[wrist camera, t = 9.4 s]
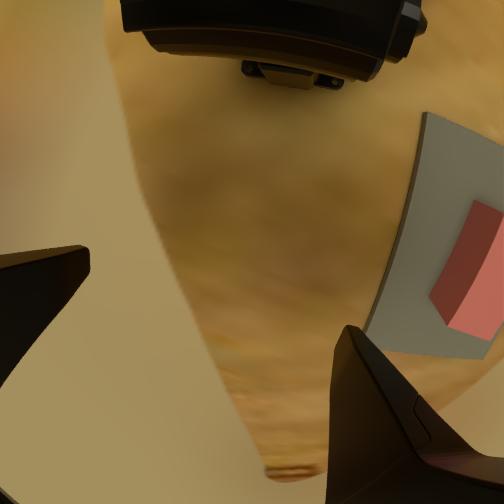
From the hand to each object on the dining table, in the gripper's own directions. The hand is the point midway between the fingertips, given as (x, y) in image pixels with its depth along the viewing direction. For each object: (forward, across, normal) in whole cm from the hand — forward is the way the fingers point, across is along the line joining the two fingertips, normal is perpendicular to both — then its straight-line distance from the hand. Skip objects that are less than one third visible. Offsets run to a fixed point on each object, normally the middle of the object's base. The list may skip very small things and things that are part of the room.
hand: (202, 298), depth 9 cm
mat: (+12, -17, -1) cm, 20 cm away
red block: (+11, -17, -1) cm, 20 cm away
